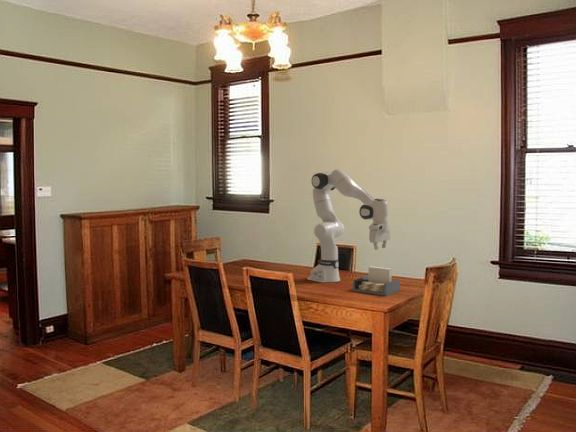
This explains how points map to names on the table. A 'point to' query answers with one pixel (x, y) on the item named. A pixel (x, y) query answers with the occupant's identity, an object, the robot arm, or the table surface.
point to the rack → (388, 289)
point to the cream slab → (379, 274)
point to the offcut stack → (372, 286)
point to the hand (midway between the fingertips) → (380, 248)
